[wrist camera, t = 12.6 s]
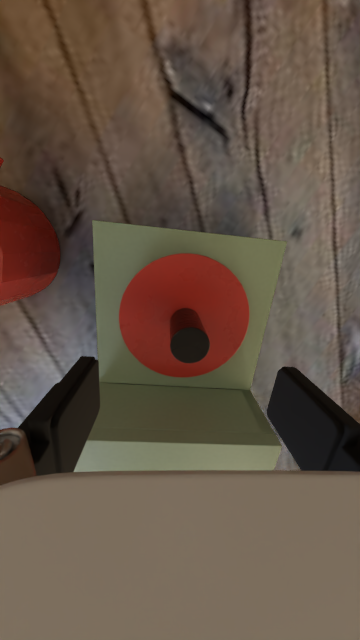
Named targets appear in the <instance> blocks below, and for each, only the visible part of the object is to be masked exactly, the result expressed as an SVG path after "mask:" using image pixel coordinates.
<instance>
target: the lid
mask: <svg viewBox="0 0 360 640" xmlns="http://www.w3.org/2000/svg"><path fill="white" fill-rule="evenodd" d="M119 325H120V330H121V334H122V337H123V340H124V342H125V344H126V346H127V347H128V349H129V351H130V352H131V353H132V354H133V356H134V357H135V358H136V359H137V360H138V361H139V362H140V363H142V364H143V365H144V366H146V367H147V368H149V369H151V370H153V371H155V372H157V373H160V374H163V375H166V376H171V377H181V378H183V377H194V376H199V375H203V374H206V373H208V372H211V371H213V370H215V369H217V368H219V367H220V366H221V365H223V364H224V363H226V362H227V361H228V360H229V359H230V358H231V357H232V356H233V355H234V354H235V353H236V351H237V350H238V349H239V347H240V346H241V344H242V342H243V340H244V338H245V335H246V333H247V329H248V325H249V304H248V299H247V296H246V293H245V290H244V288H243V286H242V284H241V283H240V281H239V280H238V278H237V277H236V276H235V275H234V274H233V273H232V272H231V271H230V270H229V269H228V268H227V267H226V266H224V265H223V264H221V263H219V262H218V261H216V260H214V259H211V258H209V257H206V256H202V255H199V254H191V253H179V254H173V255H168V256H165V257H162V258H159V259H157V260H155V261H153V262H151V263H150V264H148V265H147V266H145V267H144V268H143V269H141V270H140V271H139V272H138V273H137V274H136V275H135V276H134V277H133V279H132V280H131V281H130V283H129V284H128V286H127V287H126V290H125V292H124V294H123V296H122V300H121V303H120V308H119Z"/></svg>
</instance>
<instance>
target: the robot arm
mask: <svg viewBox="0 0 360 640" xmlns="http://www.w3.org/2000/svg"><path fill="white" fill-rule="evenodd" d="M99 409H100V387H99V362H98V360H95V358H94V357H86V356H81V357H80V358H79V360H78V361H77V362H76V363H75V364H74V366H73V367H72V368H71V369H70V370H69V372H68V373H67V374H66V375H65V376H64V378H63V379H62V380H61V381H60V383H57V384H55V385H54V386H53V387H52V389H51V390H50V391H49V392H48V393H47V394H46V396H45V397H44V398H43V399H42V400H41V401H40V403H39V404H38V405H37V406H36V407H35V408H34V410H33V411H32V412H31V413H30V414H29V416H28V417H27V418H26V419H25V420H24V421H23V423H22V424H21V425H20V426H19V427H18V428H7V429H2V430H0V640H360V424H359V423H358V422H357V421H355V420H354V419H353V418H352V417H351V416H350V415H349V414H347V413H346V412H345V411H344V410H343V409H342V408H341V407H340V406H338V405H337V404H336V403H335V402H334V401H333V400H332V399H330V398H329V397H328V396H327V395H326V394H325V393H324V392H323V391H321V390H320V389H319V388H318V387H317V386H316V385H315V384H313V383H312V382H311V381H310V380H309V379H308V378H307V377H305V376H304V375H303V374H302V373H301V372H300V371H299V370H298V369H296V368H295V367H282V368H281V369H280V370H279V371H278V373H277V377H276V380H275V384H274V387H273V391H272V394H271V398H270V401H269V405H268V409H267V415H268V417H269V419H270V421H271V422H272V424H273V426H274V427H275V429H276V430H277V432H278V434H279V435H280V437H281V438H282V440H283V442H284V443H285V445H286V446H287V448H288V450H289V451H290V453H291V454H292V456H293V458H294V459H295V461H296V462H297V464H298V466H299V467H300V469H301V470H302V471H279V470H168V471H93V472H74V469H75V467H76V465H77V462H78V460H79V458H80V455H81V453H82V451H83V448H84V446H85V444H86V441H87V439H88V437H89V434H90V432H91V429H92V427H93V425H94V422H95V420H96V418H97V415H98V413H99Z"/></svg>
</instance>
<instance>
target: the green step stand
mask: <svg viewBox="0 0 360 640" xmlns="http://www.w3.org/2000/svg"><path fill="white" fill-rule="evenodd" d="M92 225H93V250H94V275H95V299H96V324H97V349H98V362H99V387H100V409H99V413H98V415H97V418H96V420H95V422H94V425H93V427H92V429H91V432H90V434H89V437H88V439H87V441H86V444H85V446H84V448H83V451H82V453H81V455H80V458H79V460H78V462H77V465H76V467H75V469H74V472H93V471H168V470H274V467H275V465H276V462H277V459H278V456H279V453H280V450H281V447H282V445H281V443H280V442H279V440H278V438H277V436H276V435H275V434H274V431H273V430H272V428H271V426H270V424H269V423H268V421H267V419H266V417H265V416H264V414H263V412H262V410H261V409H260V407H259V405H258V404H257V402H256V400H255V398H254V397H253V395H252V393H251V391H250V388H251V384H252V380H253V376H254V372H255V368H256V364H257V360H258V356H259V352H260V348H261V344H262V340H263V336H264V332H265V328H266V324H267V320H268V316H269V312H270V308H271V304H272V300H273V296H274V292H275V288H276V284H277V280H278V276H279V272H280V268H281V264H282V260H283V256H284V252H285V248H286V244H287V242H286V241H277V240H268V239H259V238H250V237H241V236H232V235H223V234H214V233H205V232H196V231H187V230H178V229H169V228H160V227H151V226H141V225H132V224H123V223H114V222H105V221H96V220H92ZM179 253H191V254H199V255H202V256H206V257H209V258H211V259H214V260H216V261H218V262H219V263H221V264H223V265H224V266H226V267H227V268H228V269H229V270H230V271H231V272H232V273H233V274H234V275H235V276H236V277H237V278H238V280H239V281H240V283H241V284H242V286H243V288H244V290H245V293H246V296H247V299H248V304H249V325H248V329H247V333H246V335H245V338H244V340H243V342H242V344H241V346H240V347H239V349H238V350H237V351H236V353H235V354H234V355H233V356H232V357H231V358H230V359H229V360H228V361H227V362H226V363H224V364H223V365H221V366H220V367H219V368H217V369H215V370H213V371H211V372H208V373H206V374H203V375H199V376H194V377H183V378H181V377H171V376H166V375H163V374H160V373H157V372H155V371H153V370H151V369H149V368H147V367H146V366H144V365H143V364H142V363H140V362H139V361H138V360H137V359H136V358H135V357H134V356H133V354H132V353H131V352H130V351H129V349H128V347H127V346H126V344H125V342H124V340H123V337H122V334H121V330H120V325H119V308H120V303H121V300H122V296H123V294H124V292H125V290H126V287H127V286H128V284H129V283H130V281H131V280H132V279H133V277H134V276H135V275H136V274H137V273H138V272H139V271H140V270H141V269H143V268H144V267H145V266H147V265H148V264H150V263H151V262H153V261H155V260H157V259H159V258H162V257H165V256H168V255H173V254H179ZM122 383H125V384H122ZM134 384H144V385H134ZM154 385H164V386H154ZM174 386H184V387H174ZM194 387H204V388H194ZM213 388H221V389H213Z"/></svg>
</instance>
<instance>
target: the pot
mask: <svg viewBox="0 0 360 640" xmlns="http://www.w3.org/2000/svg"><path fill="white" fill-rule="evenodd" d="M3 161H4V160H3V159H2V158H1V157H0V167H1V165H2V163H3ZM59 264H60V247H59V242H58V239H57V236H56V233H55V231H54V229H53V227H52V225H51V223H50V222H49V220H48V219H47V217H46V216H45V215H44V213H43V212H42V211H41V210H40V209H39V208H38V207H37V206H36V205H35V204H34V203H32V202H31V201H30V200H28V199H27V198H26V197H24V196H22V195H21V194H19V193H18V192H16V191H13V190H10V189H8V188H5V187H3V186H0V306H1V305H4V304H7V303H10V302H13V301H16V300H19V299H23V298H26V297H29V296H32V295H33V294H35V293H37V292H40V291H42V290H43V289H45V288H46V287H47V286H48V285H49V284H50V283H51V282H52V281H53V279H54V278H55V276H56V274H57V271H58V269H59Z"/></svg>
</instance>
